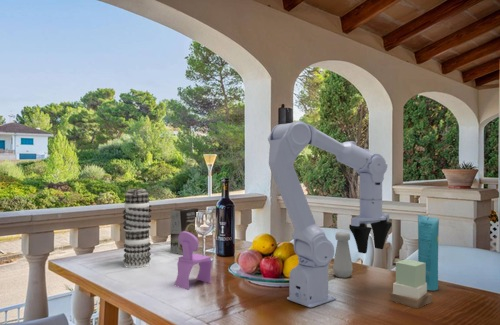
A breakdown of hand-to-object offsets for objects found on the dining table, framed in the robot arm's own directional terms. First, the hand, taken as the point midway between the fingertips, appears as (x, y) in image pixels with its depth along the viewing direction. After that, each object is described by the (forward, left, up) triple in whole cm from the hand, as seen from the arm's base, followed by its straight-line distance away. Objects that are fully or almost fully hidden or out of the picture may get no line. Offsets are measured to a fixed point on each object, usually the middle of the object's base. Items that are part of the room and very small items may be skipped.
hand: (370, 250), depth 108 cm
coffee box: (-14, +72, -11) cm, 74 cm away
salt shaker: (+5, +13, -11) cm, 18 cm away
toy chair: (-33, +35, -11) cm, 49 cm away
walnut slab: (0, -11, -11) cm, 16 cm away
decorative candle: (-36, +65, -11) cm, 75 cm away
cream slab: (0, -11, -8) cm, 14 cm away
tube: (+13, -9, -11) cm, 19 cm away
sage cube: (0, -11, -6) cm, 13 cm away
